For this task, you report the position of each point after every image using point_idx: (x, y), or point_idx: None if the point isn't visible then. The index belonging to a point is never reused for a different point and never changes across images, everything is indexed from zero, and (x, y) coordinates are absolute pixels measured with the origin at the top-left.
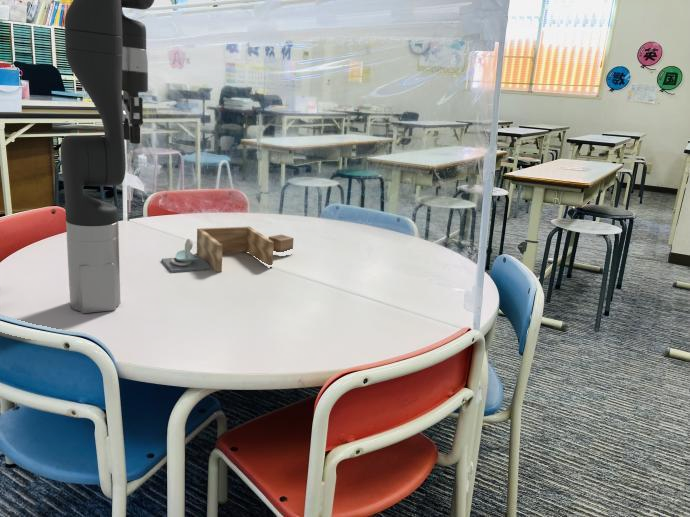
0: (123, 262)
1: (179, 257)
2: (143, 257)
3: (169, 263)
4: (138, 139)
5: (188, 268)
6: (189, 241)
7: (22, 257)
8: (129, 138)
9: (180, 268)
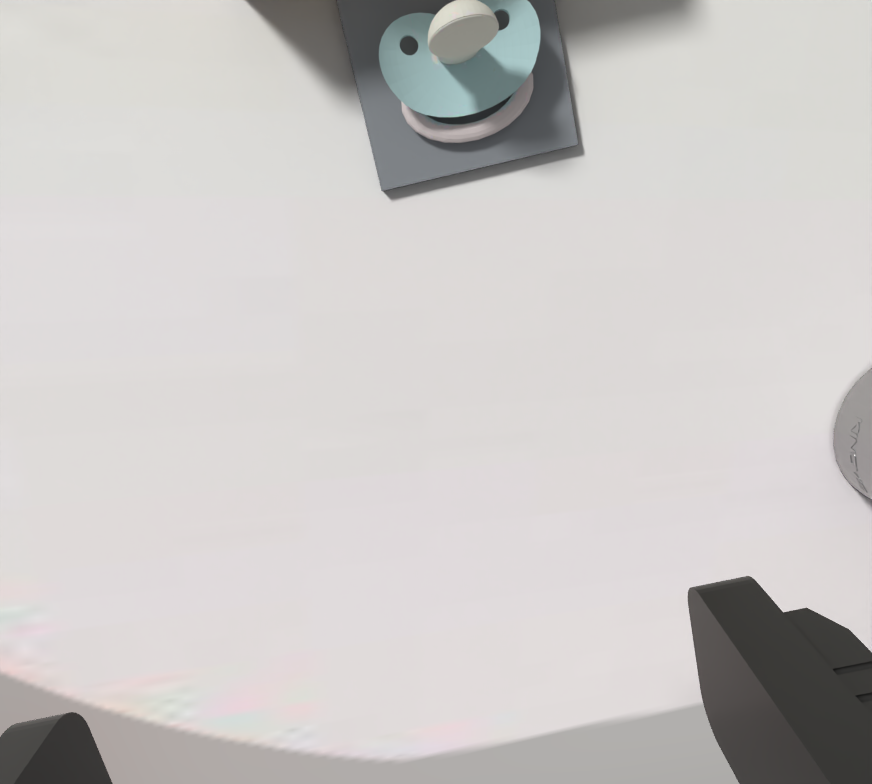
0: (404, 364)
1: (441, 95)
2: (321, 279)
3: (465, 151)
4: (841, 635)
5: (556, 55)
6: (487, 17)
7: (334, 726)
8: (84, 770)
9: (552, 97)
